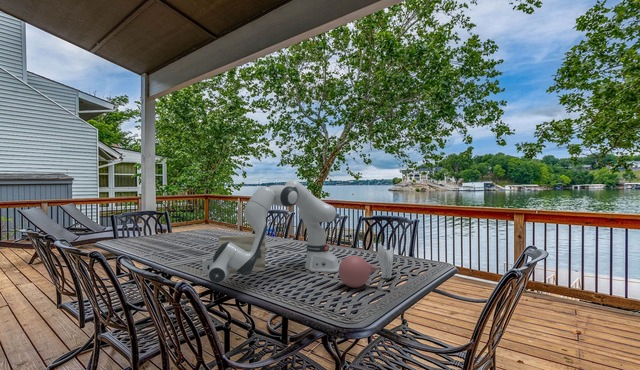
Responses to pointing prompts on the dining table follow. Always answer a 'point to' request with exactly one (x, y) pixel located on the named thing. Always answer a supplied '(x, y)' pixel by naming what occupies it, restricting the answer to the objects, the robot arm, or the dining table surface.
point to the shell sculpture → (385, 261)
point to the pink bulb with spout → (355, 271)
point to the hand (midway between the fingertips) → (224, 259)
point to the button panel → (246, 248)
